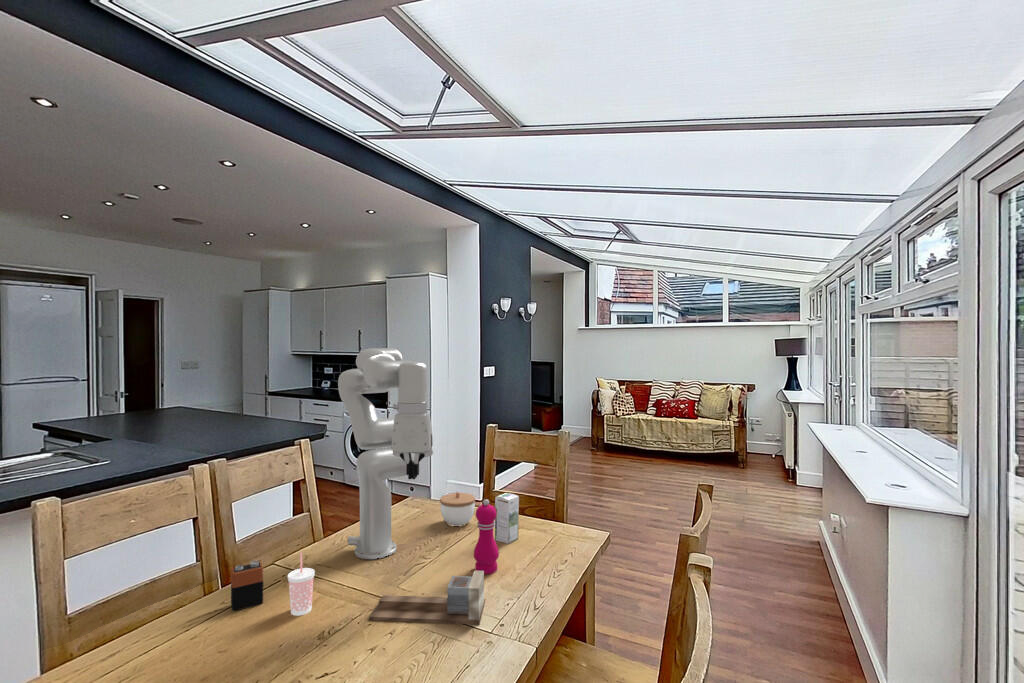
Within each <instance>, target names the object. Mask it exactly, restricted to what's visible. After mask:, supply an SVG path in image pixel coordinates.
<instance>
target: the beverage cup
mask: <svg viewBox="0 0 1024 683" xmlns="http://www.w3.org/2000/svg"><path fill="white" fill-rule="evenodd" d="M299 554H300V555H299V558H300V560H299V561H300V562H299V564H300V566H299V568H296V569H294V570H292V571H290V572H288V574H287V580H288V587H289V589H288V590H289V602H290V606H289V607H290V614H291V615H293V616H296V617H298V616H299V617H300V616H304V615H306V614H309V613H310V612H311V610H312V608H313V607H312V606H313V605H312V604H313V591H314V590H313V588H314V577H315V573H316V570H315V569H313V568H311V567H303V551H302V552H299Z"/></svg>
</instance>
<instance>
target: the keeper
mask: <svg viewBox="0 0 1024 683" xmlns="http://www.w3.org/2000/svg"><path fill="white" fill-rule="evenodd" d="M472 576H473V575H472ZM472 576H471V575H469V576H467V575H466V576H465V575H463V576H462V575H452V576H451V578H450V581H449V582H448V585H447V588H446V589H447V590H446V591H447V594H446V595H447V596H446V597H447V614H469V585H470V582H471V579H472Z"/></svg>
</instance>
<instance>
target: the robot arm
mask: <svg viewBox="0 0 1024 683" xmlns="http://www.w3.org/2000/svg"><path fill="white" fill-rule="evenodd" d="M355 358H356V359H355V364H356V367H357V368H351V369H347V370H345V371H342V373H340V374H339V377H338V381H337V386H338V387H337V388H338V394H339V398H340V399H341V402H342V403H343V406H344V407H345V409H346V411H347V412H348V416H349V418H350V423H351V428H352V431H353V436H354V440H355V443H356V445H357V447H358V448H359V449H361V450H365V451H363V452H362V453H360V454H359V455H358V457H357V460H356V472H357V477H358V485H359V535H358V536H348V537H347V539H346V540H347V545H348V546H355V548H354V555H355V556H356V557H357V558H360V559H362V560H378V559H377V558H379V559H383V558H386V557H385V556H387V557H389V556H391V555H392V553H393V554H395V553H396V551H397V546H398V545H397V544H396V543H395V542H394V541H392V492H391V489H390V488H389V487H388V485H386V484H385V483H384V482H385V481H386V480H388V479H389V480H390V479H394V478H395V479H396V478H400V477H401V478H402V477H405V476H408V477H407V478H408V480H416V479H417V478H418V476H419V475H420V462H422V460H423V459H424V458H428V457H432V456H433V455H434V451H433V445H434V444H433V443H434V439H433V438H434V437H433V426H432V420H431V416H430V413H428V367H427V365H426V363H424V362H421V361H420V362H418V361H414V360H404V358H403V354H402V353H401V352H400V350H398V349H396V348H391V347H390V348H386V347H385V348H384V347H383V348H366V349H363V350H362V351H360V352H359V353H358V354H357V356H356V357H355ZM392 389H397V391H398V393H397V394H398V395H397V397H398V398H397V403H396V404H393V405H392V410H396V411H397V413H395V415H394V416H393V417H385V418H380V417H379V416H378V414H377V411H376V410H377V409H376V407H375V405H374V404H373V403H372V402H371V401H370V400H369V399H368V398H366V396H365V397H364V396H363V394H364V395H365V394H379V393H381V394H382V393H387V392H389V391H390V390H392ZM413 454H414V456H413ZM388 555H389V556H388Z"/></svg>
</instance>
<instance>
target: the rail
mask: <svg viewBox="0 0 1024 683" xmlns="http://www.w3.org/2000/svg"><path fill="white" fill-rule="evenodd" d="M485 604H486V599H485V574H484V571H476V570H474V571H473V573H472V579H471V582H470V585H469V614H447V596H445V597H444V596H443V597H442V596H418V595H417V596H415V595H413V596H412V595H391V594H390V595H389V594H388V595H387V594H384V595H381V597H380V598H379V600H378V603H377V604H376V605H375V607H374V608H373V610H372V612H371V613H370V615H369V616H368V618H369V619H368V620H369V621H380V622H381V621H382V622H383V621H384V622H385V621H386V622H408V623H430V624H433V623H435V624H455V625H457V624H459V625H480V624H481V620H482V616H483V612H484V608H485Z"/></svg>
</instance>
